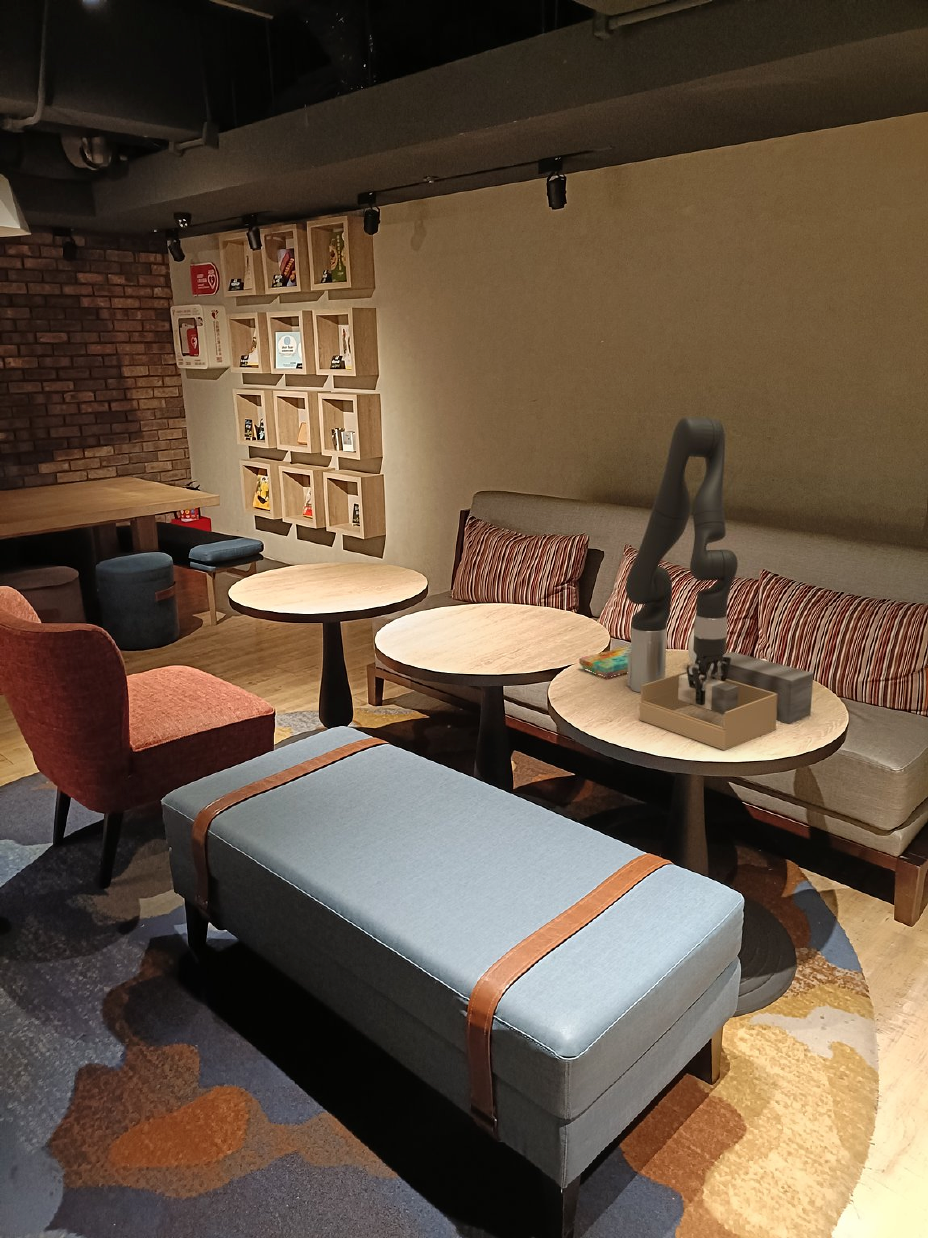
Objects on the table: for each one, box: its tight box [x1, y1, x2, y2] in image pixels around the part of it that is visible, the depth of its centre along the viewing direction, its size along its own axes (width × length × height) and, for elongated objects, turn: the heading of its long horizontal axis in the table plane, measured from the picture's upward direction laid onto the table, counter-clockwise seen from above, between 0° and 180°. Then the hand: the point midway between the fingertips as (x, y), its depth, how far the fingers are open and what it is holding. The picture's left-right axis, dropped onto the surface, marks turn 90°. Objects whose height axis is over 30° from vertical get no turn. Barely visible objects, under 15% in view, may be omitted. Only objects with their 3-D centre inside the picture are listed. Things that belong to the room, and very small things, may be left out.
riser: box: [721, 651, 814, 725], centre depth 233 cm, size 24×9×11 cm, turn 37°
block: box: [678, 674, 738, 716], centre depth 221 cm, size 14×4×6 cm, turn 37°
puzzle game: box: [578, 645, 631, 679], centre depth 267 cm, size 12×5×20 cm
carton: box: [639, 670, 778, 751], centre depth 222 cm, size 25×20×9 cm
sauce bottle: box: [687, 627, 696, 666], centre depth 263 cm, size 8×8×18 cm
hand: (707, 701), depth 222 cm, fingers closed on block, 4 cm apart
